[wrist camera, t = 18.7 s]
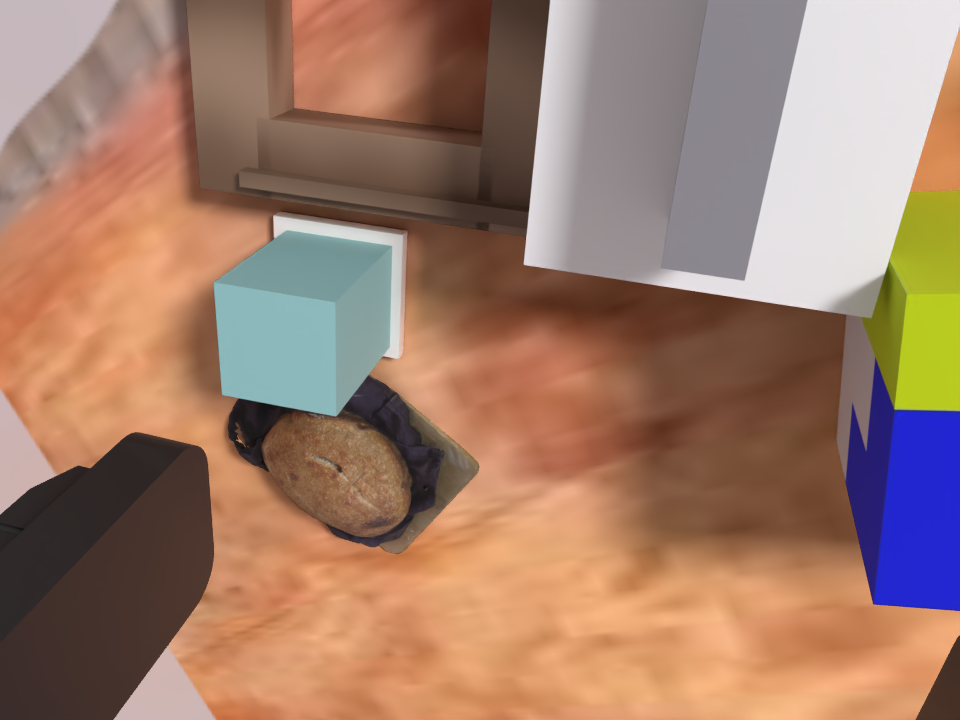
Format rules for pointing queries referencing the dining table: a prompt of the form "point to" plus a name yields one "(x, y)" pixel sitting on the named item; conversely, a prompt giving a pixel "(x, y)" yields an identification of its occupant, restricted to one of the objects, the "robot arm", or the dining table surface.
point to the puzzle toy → (908, 413)
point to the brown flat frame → (362, 125)
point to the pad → (364, 234)
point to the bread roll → (357, 463)
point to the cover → (735, 142)
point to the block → (304, 321)
